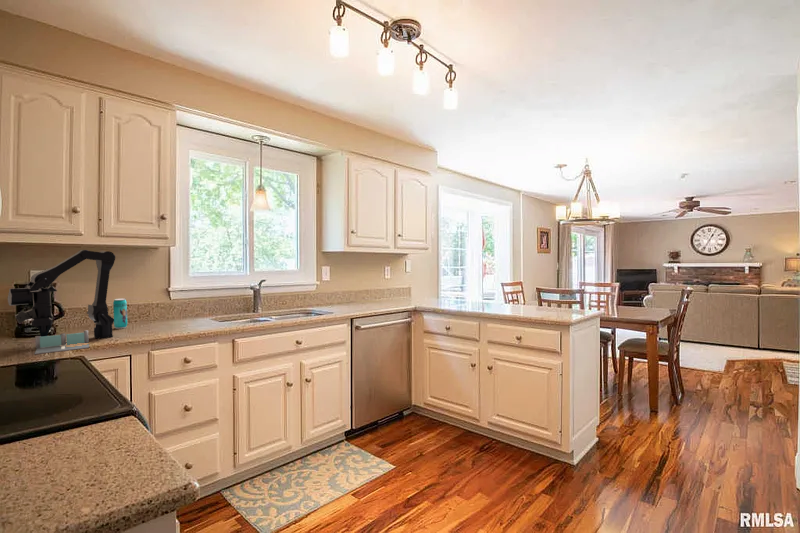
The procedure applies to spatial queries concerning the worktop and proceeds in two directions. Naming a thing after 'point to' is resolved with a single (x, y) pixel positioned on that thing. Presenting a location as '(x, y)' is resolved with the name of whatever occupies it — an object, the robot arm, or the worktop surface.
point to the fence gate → (50, 340)
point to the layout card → (58, 348)
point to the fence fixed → (77, 338)
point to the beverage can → (120, 313)
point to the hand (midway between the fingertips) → (43, 340)
